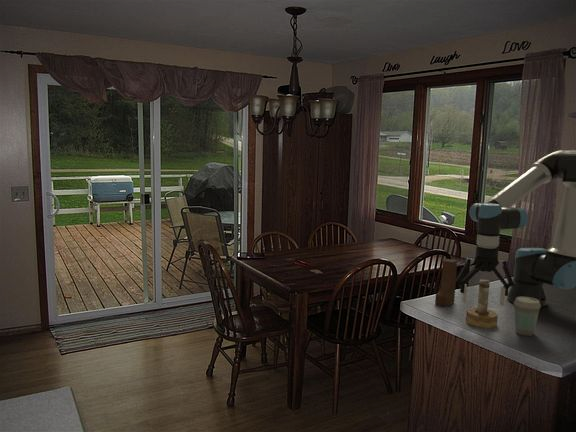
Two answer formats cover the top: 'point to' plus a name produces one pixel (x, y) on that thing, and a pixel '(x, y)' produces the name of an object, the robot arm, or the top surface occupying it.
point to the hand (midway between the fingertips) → (482, 302)
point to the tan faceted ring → (481, 318)
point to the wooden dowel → (483, 297)
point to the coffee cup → (526, 315)
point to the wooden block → (447, 283)
